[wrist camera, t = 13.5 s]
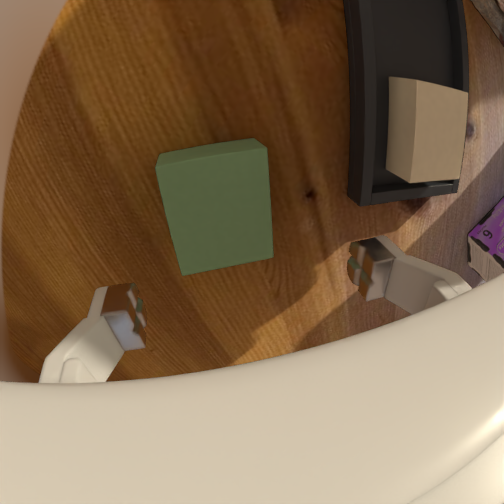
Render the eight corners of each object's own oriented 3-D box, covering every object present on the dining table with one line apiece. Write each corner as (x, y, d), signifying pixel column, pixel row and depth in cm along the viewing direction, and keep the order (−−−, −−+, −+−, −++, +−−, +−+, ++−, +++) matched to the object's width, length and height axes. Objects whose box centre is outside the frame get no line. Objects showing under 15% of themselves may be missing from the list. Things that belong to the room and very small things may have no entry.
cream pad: (384, 169, 16) (409, 183, 14) (388, 76, 13) (416, 79, 11) (435, 166, 17) (459, 179, 15) (441, 86, 13) (468, 92, 11)
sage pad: (180, 250, 17) (182, 276, 15) (158, 153, 13) (154, 166, 11) (262, 235, 18) (274, 257, 16) (254, 137, 14) (267, 147, 12)
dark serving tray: (347, 196, 17) (359, 207, 16) (334, -52, 8) (347, -60, 7) (443, 184, 19) (457, 193, 17) (445, -11, 9) (460, -12, 8)
